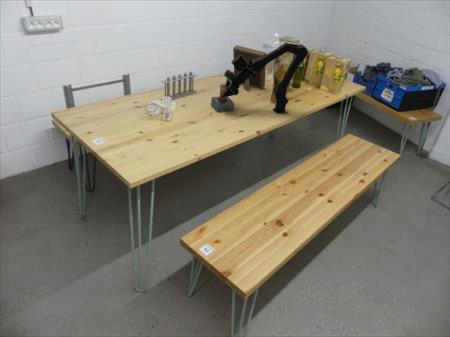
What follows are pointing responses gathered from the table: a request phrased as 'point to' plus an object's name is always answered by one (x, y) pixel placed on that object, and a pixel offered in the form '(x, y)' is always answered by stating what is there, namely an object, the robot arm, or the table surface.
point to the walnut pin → (222, 90)
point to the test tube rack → (179, 78)
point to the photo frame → (260, 76)
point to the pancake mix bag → (280, 71)
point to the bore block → (222, 104)
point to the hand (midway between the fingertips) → (221, 94)
